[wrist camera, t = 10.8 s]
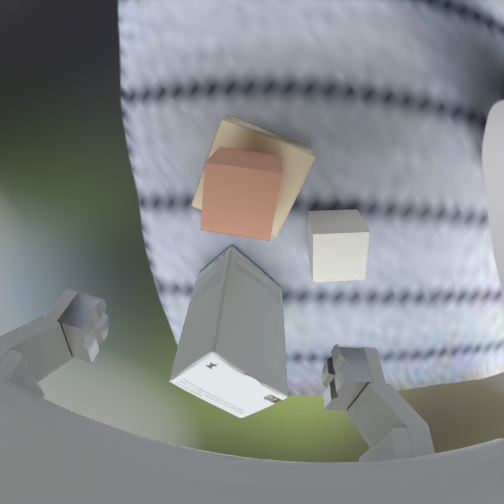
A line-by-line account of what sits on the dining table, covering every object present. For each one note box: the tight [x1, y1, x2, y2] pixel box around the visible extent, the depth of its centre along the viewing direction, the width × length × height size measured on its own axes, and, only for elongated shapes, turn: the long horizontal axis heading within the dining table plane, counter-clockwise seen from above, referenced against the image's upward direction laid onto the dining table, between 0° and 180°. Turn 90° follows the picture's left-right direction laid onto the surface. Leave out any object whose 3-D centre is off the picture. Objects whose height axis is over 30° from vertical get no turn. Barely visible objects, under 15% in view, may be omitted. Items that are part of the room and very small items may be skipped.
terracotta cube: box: [201, 147, 282, 241], centre depth 23 cm, size 5×5×5 cm
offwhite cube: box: [308, 209, 370, 282], centre depth 29 cm, size 5×5×5 cm
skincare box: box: [170, 246, 288, 418], centre depth 28 cm, size 8×6×15 cm
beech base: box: [192, 115, 316, 238], centre depth 27 cm, size 8×8×4 cm
